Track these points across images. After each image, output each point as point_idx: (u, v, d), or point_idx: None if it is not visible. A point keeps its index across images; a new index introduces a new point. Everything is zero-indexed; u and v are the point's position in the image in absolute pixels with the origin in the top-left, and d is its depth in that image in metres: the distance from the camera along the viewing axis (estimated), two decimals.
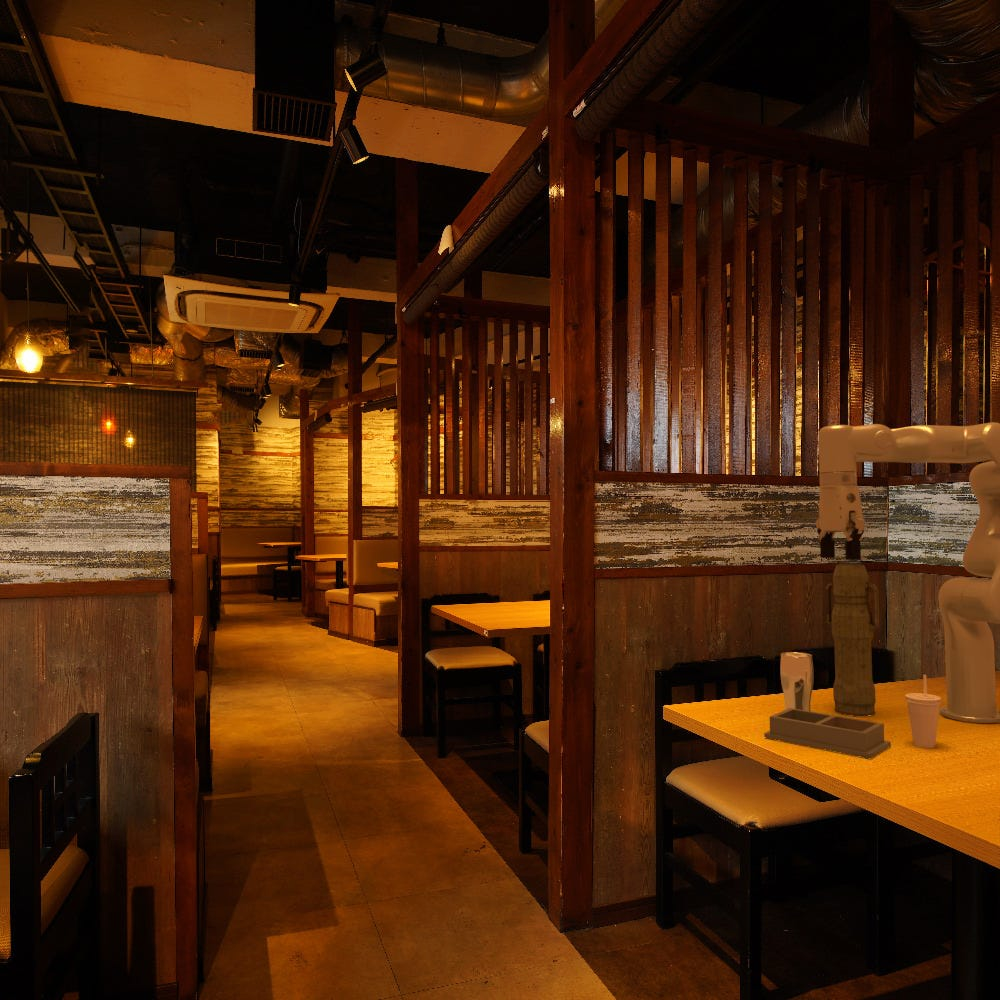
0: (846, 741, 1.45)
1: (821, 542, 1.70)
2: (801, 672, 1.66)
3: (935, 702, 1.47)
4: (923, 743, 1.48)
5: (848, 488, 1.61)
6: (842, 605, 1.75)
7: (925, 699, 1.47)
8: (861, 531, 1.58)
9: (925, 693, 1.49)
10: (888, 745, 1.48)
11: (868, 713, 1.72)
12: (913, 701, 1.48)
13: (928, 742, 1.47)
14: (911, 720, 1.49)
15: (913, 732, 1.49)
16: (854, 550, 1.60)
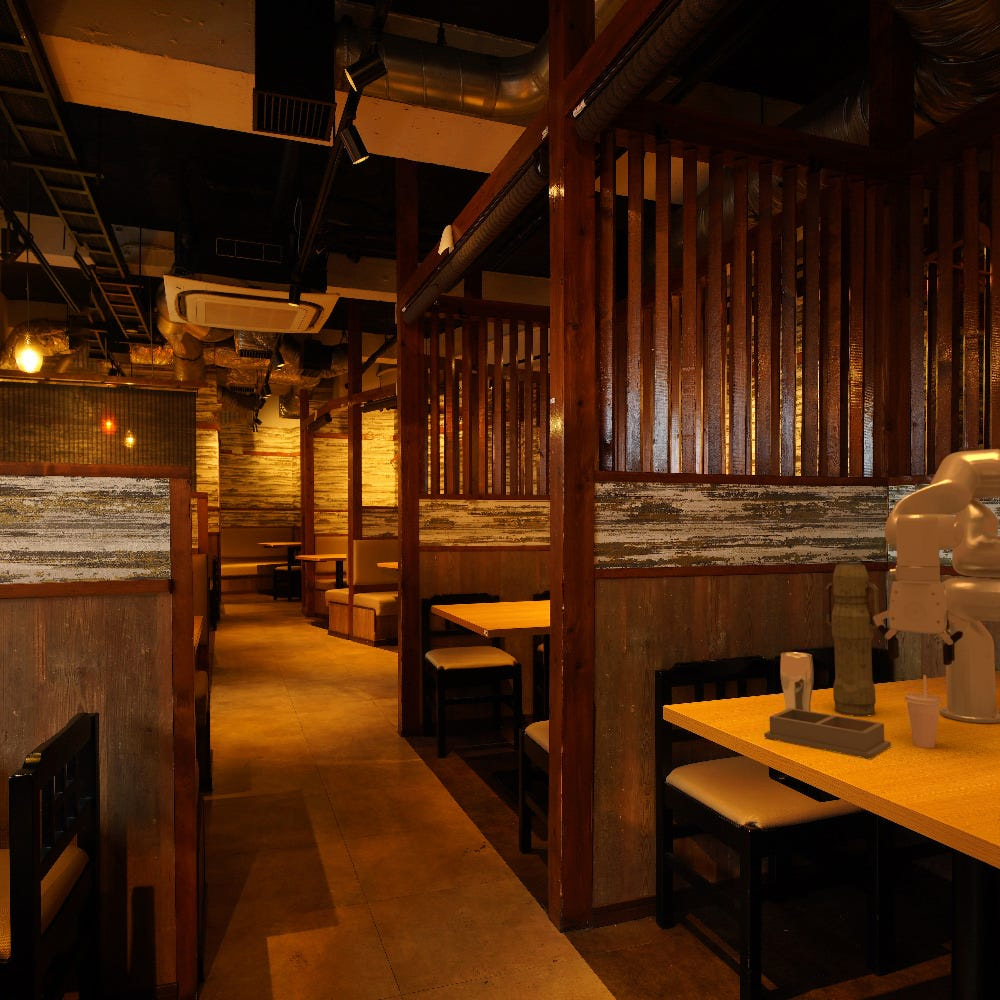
0: (846, 741, 1.45)
1: None
2: (801, 672, 1.66)
3: (935, 702, 1.47)
4: (923, 743, 1.48)
5: None
6: (842, 605, 1.75)
7: (925, 699, 1.47)
8: None
9: (925, 693, 1.49)
10: (888, 745, 1.48)
11: (868, 713, 1.72)
12: (913, 701, 1.48)
13: (928, 742, 1.47)
14: (911, 720, 1.49)
15: (913, 732, 1.49)
16: None
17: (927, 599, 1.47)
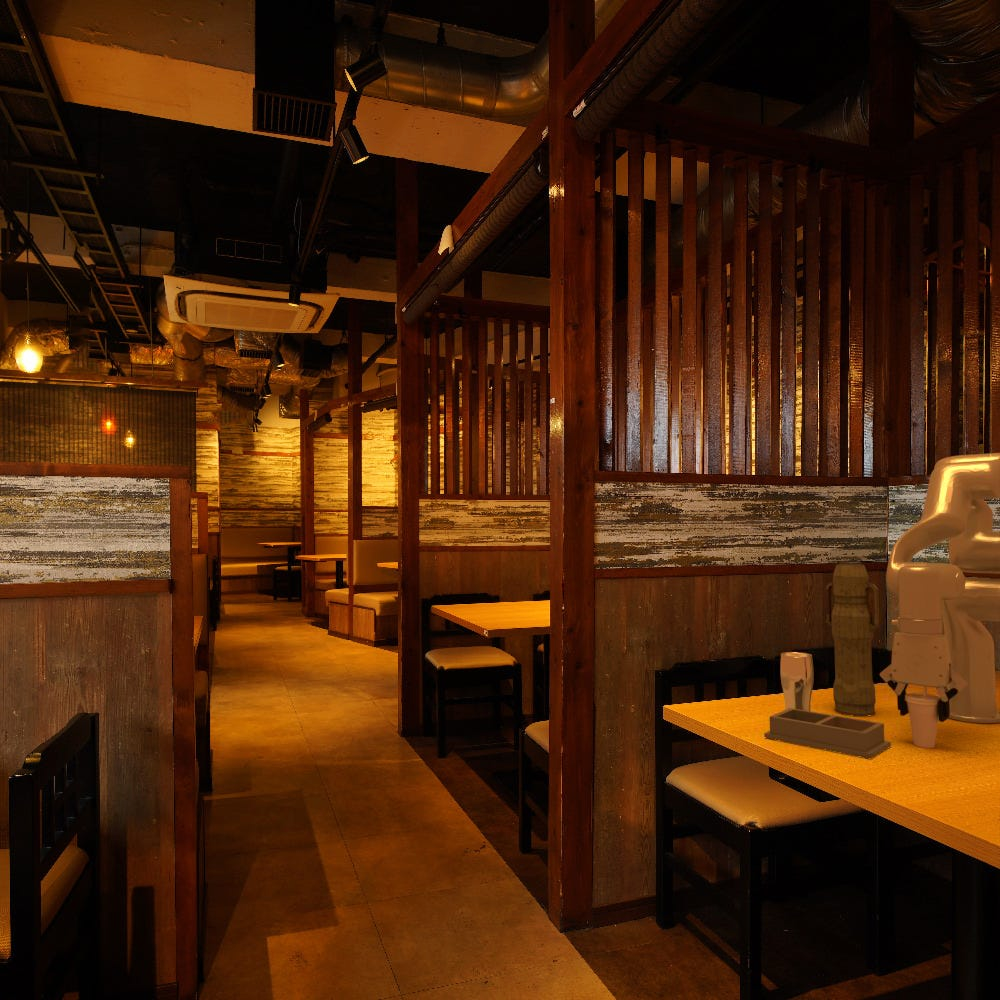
0: (846, 741, 1.45)
1: None
2: (801, 672, 1.66)
3: (935, 702, 1.47)
4: (923, 743, 1.48)
5: None
6: (842, 605, 1.75)
7: (925, 699, 1.47)
8: None
9: (925, 693, 1.49)
10: (888, 745, 1.48)
11: (868, 713, 1.72)
12: (913, 701, 1.48)
13: (928, 742, 1.47)
14: (911, 720, 1.49)
15: (913, 732, 1.49)
16: None
17: (929, 652, 1.46)
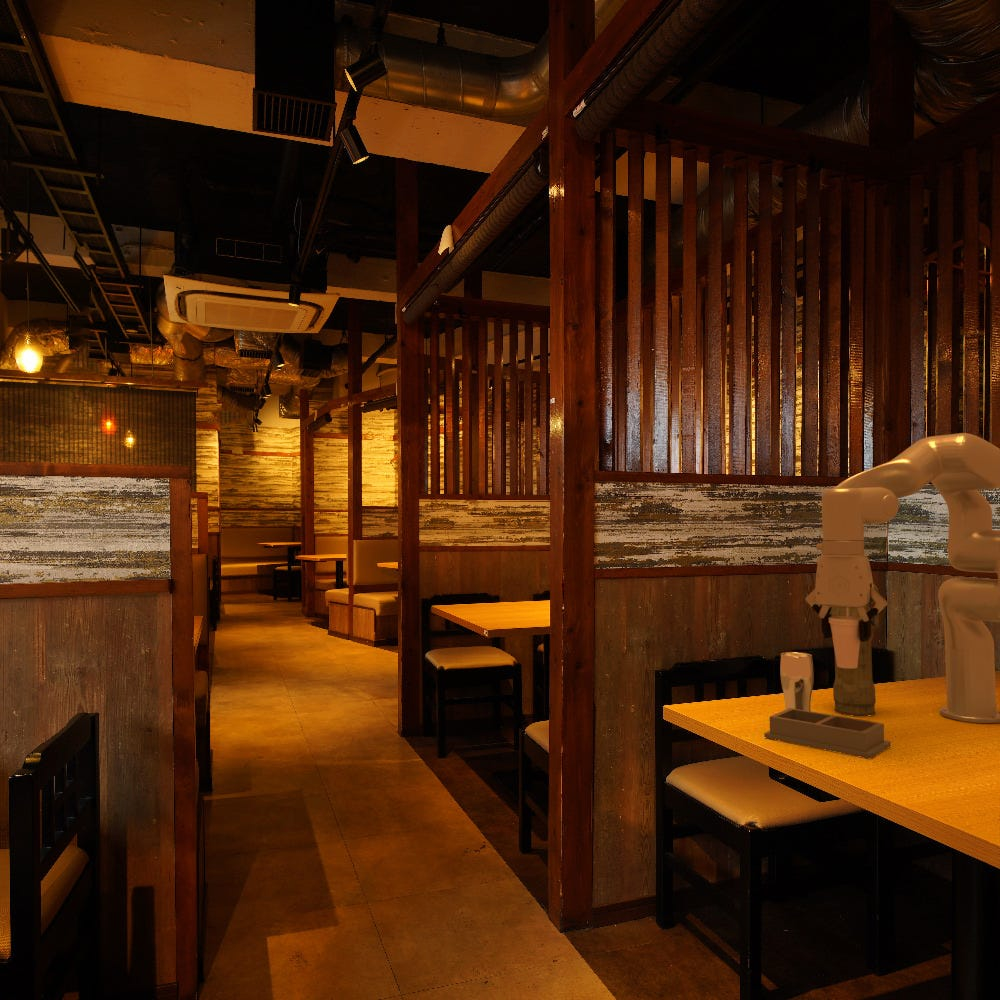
0: (846, 741, 1.45)
1: None
2: (801, 672, 1.66)
3: (856, 622, 1.47)
4: (845, 664, 1.48)
5: None
6: None
7: (846, 620, 1.48)
8: None
9: (847, 614, 1.49)
10: (888, 745, 1.48)
11: (868, 713, 1.72)
12: (835, 622, 1.49)
13: (849, 663, 1.48)
14: (834, 641, 1.50)
15: (836, 654, 1.50)
16: None
17: (850, 573, 1.47)
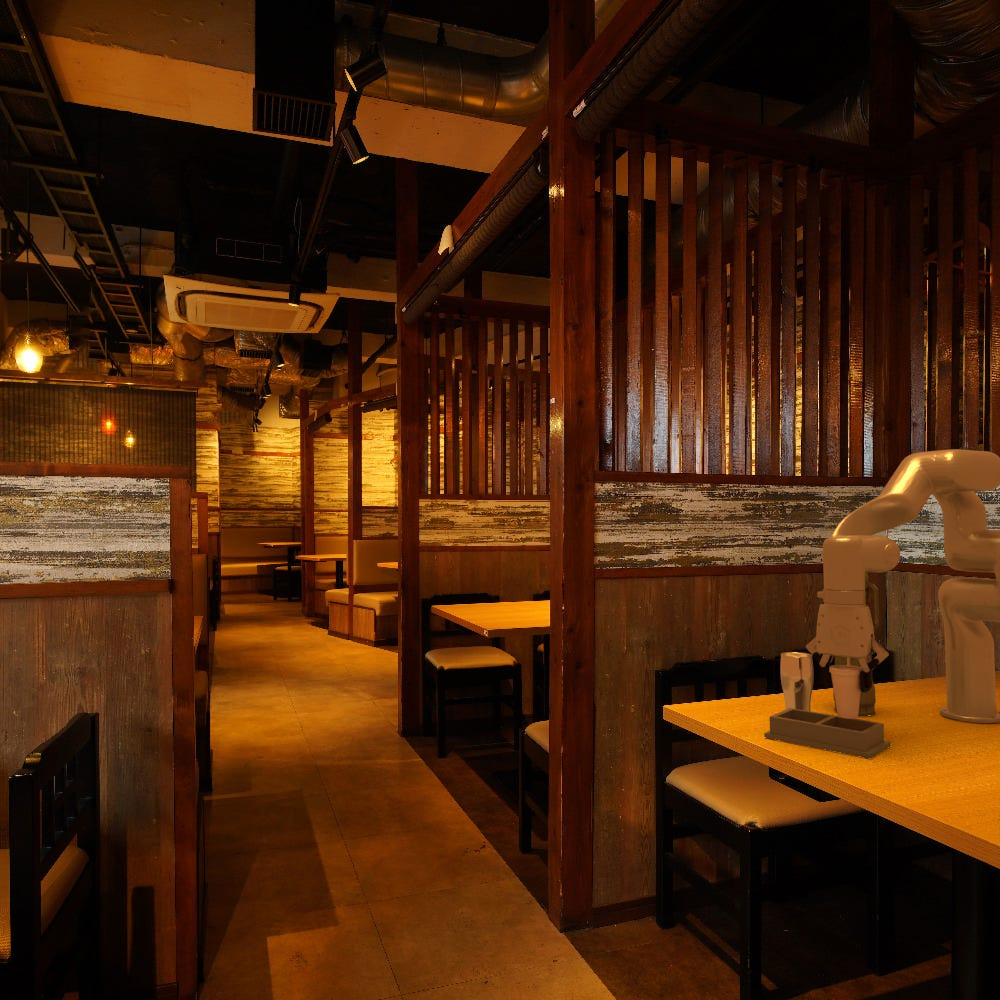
0: (846, 741, 1.45)
1: None
2: (801, 672, 1.66)
3: (857, 672, 1.47)
4: (845, 714, 1.48)
5: None
6: None
7: (847, 670, 1.47)
8: None
9: (848, 664, 1.49)
10: (888, 745, 1.48)
11: (868, 713, 1.72)
12: (836, 672, 1.48)
13: (850, 713, 1.47)
14: (834, 691, 1.49)
15: (836, 703, 1.49)
16: None
17: (851, 623, 1.46)
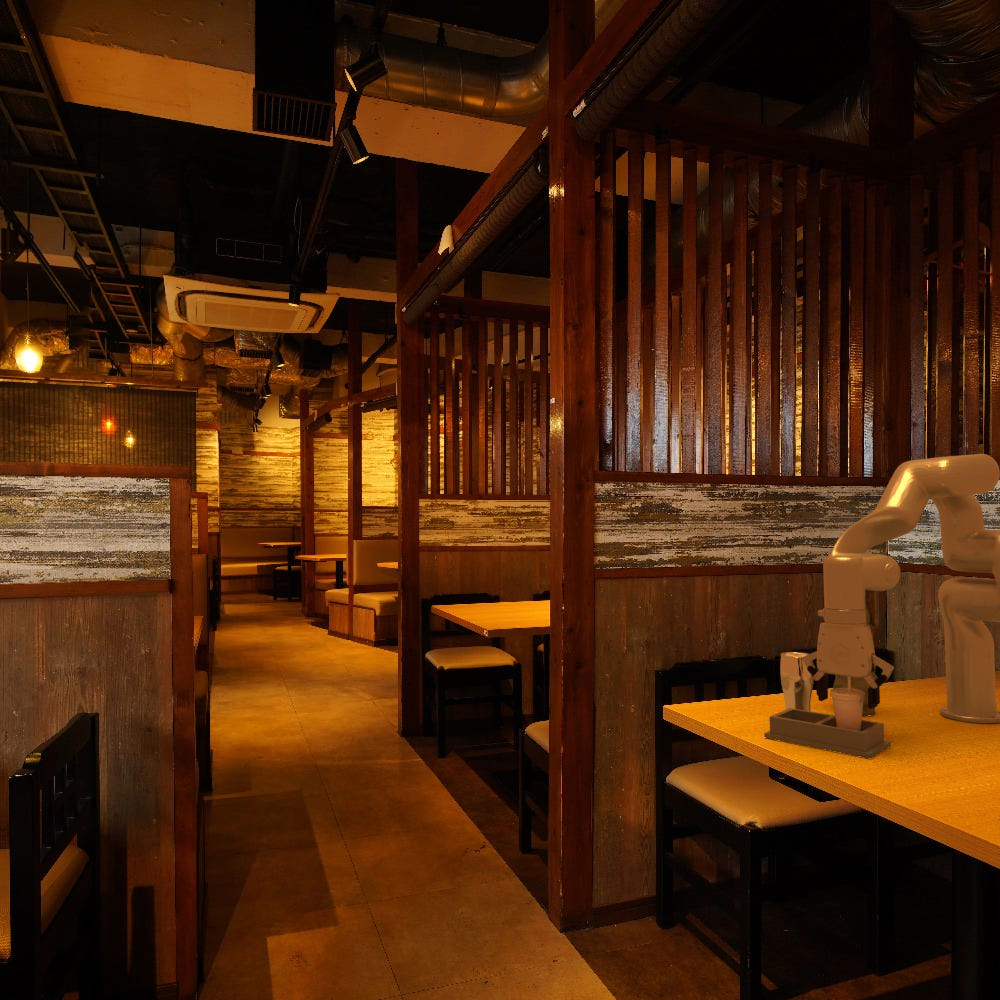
0: (846, 741, 1.45)
1: None
2: (801, 672, 1.66)
3: (858, 697, 1.46)
4: None
5: None
6: None
7: (848, 694, 1.47)
8: None
9: (849, 688, 1.49)
10: (888, 745, 1.48)
11: (868, 713, 1.72)
12: (837, 696, 1.48)
13: None
14: (836, 715, 1.49)
15: None
16: None
17: (852, 642, 1.46)
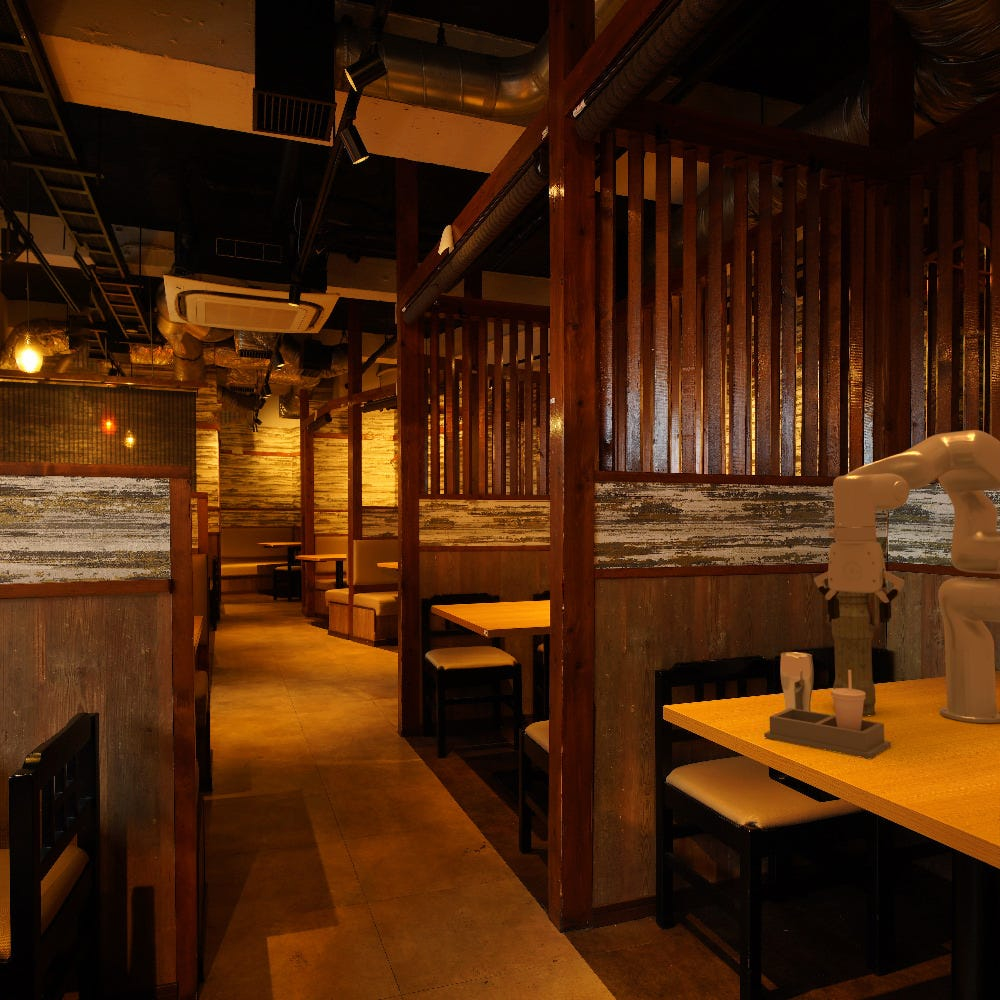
0: (846, 741, 1.45)
1: None
2: (801, 672, 1.66)
3: (859, 697, 1.47)
4: None
5: None
6: (842, 605, 1.75)
7: (849, 694, 1.47)
8: None
9: (850, 688, 1.49)
10: (888, 745, 1.48)
11: (868, 713, 1.72)
12: (837, 696, 1.48)
13: None
14: (836, 715, 1.49)
15: None
16: None
17: (863, 559, 1.48)
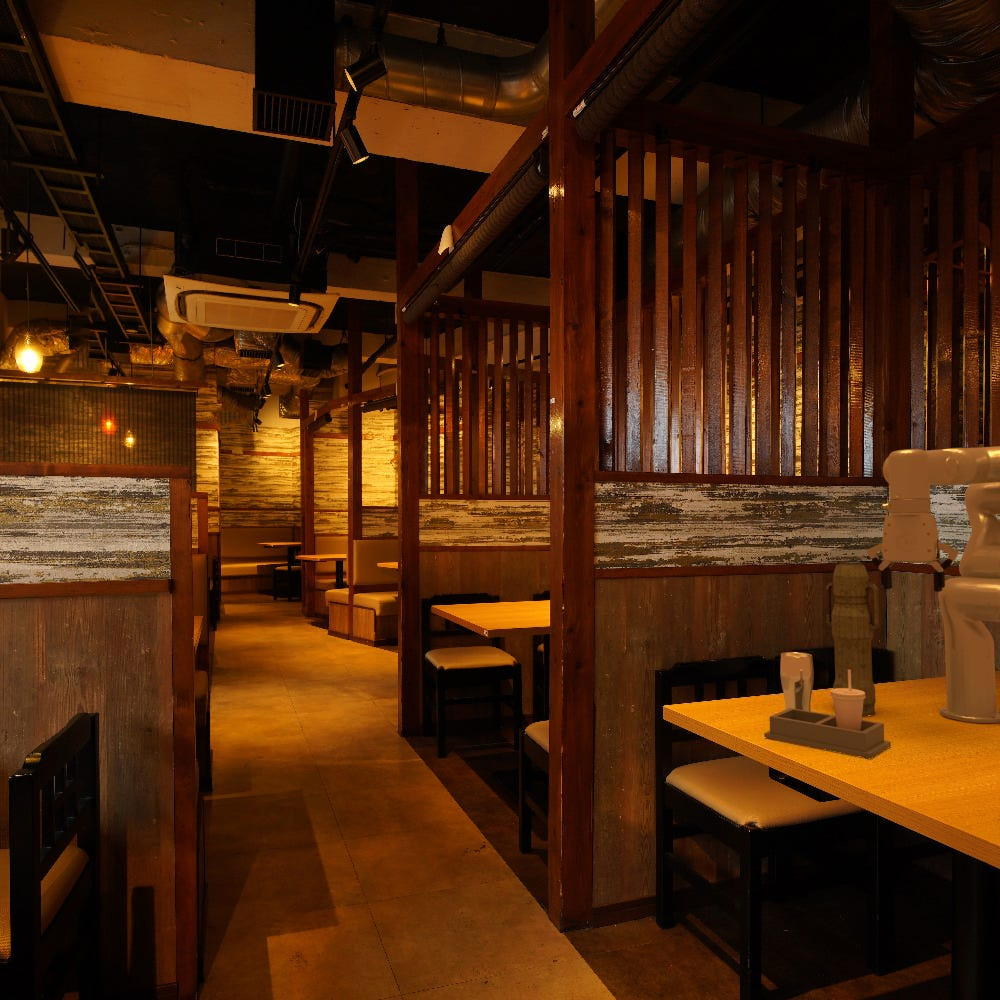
0: (846, 741, 1.45)
1: None
2: (801, 672, 1.66)
3: (858, 697, 1.47)
4: None
5: None
6: (842, 605, 1.75)
7: (849, 694, 1.47)
8: None
9: (849, 688, 1.49)
10: (888, 745, 1.48)
11: (868, 713, 1.72)
12: (837, 696, 1.48)
13: None
14: (836, 715, 1.49)
15: None
16: None
17: (918, 530, 1.54)
